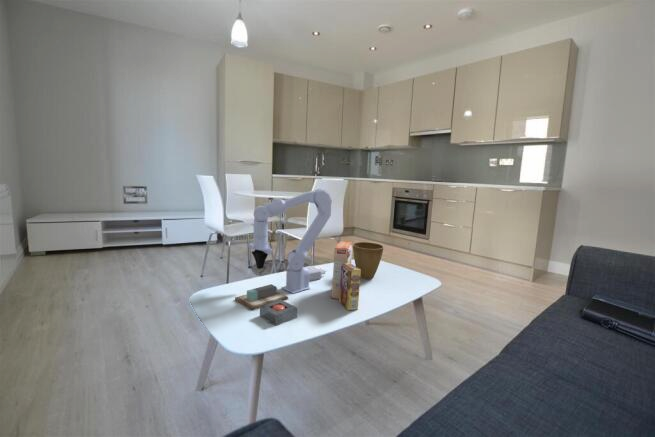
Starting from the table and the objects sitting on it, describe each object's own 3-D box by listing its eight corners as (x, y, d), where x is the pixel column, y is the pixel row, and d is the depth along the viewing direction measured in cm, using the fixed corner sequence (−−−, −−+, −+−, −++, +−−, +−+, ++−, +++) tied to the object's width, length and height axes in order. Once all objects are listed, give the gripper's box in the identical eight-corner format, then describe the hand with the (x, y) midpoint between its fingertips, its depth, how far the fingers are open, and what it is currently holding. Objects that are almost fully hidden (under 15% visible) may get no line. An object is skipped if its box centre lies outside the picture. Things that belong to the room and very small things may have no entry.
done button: (279, 309, 109) (279, 303, 108) (286, 313, 106) (287, 307, 106) (270, 312, 106) (270, 306, 106) (277, 316, 103) (277, 310, 103)
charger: (331, 277, 151) (304, 283, 141) (319, 272, 158) (294, 277, 149) (331, 268, 150) (305, 273, 141) (320, 263, 157) (294, 267, 148)
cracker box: (346, 300, 123) (349, 248, 120) (331, 298, 124) (333, 247, 121) (350, 288, 136) (353, 241, 134) (337, 287, 138) (339, 240, 135)
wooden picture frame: (270, 290, 130) (270, 287, 130) (288, 299, 122) (288, 296, 121) (234, 300, 118) (234, 296, 118) (252, 310, 110) (252, 306, 110)
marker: (273, 291, 126) (273, 283, 125) (278, 293, 123) (278, 285, 123) (246, 298, 117) (246, 290, 117) (251, 301, 115) (251, 293, 114)
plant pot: (348, 279, 149) (349, 246, 146) (354, 270, 163) (356, 240, 161) (379, 283, 144) (381, 250, 142) (383, 274, 158) (385, 243, 156)
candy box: (359, 309, 115) (361, 269, 113) (348, 310, 113) (350, 270, 111) (348, 300, 123) (350, 262, 121) (338, 301, 122) (340, 263, 120)
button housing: (281, 309, 112) (281, 299, 112) (297, 317, 106) (297, 307, 106) (259, 316, 106) (259, 306, 106) (275, 325, 100) (275, 315, 99)
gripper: (242, 233, 129) (242, 265, 131) (262, 239, 119) (261, 274, 121) (257, 232, 134) (256, 263, 136) (277, 237, 124) (276, 271, 126)
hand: (260, 268), depth 129 cm, fingers closed
